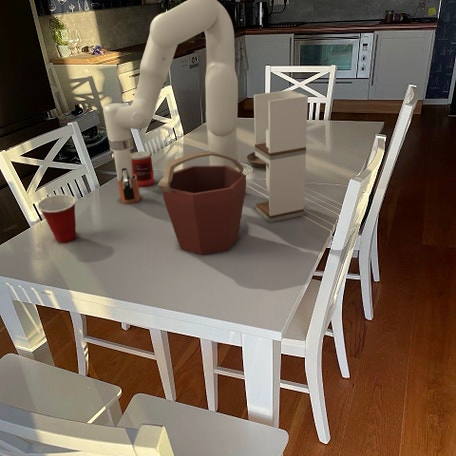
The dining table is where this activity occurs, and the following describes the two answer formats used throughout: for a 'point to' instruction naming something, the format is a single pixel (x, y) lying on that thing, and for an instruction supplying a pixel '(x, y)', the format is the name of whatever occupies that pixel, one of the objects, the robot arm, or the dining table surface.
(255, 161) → the plant saucer
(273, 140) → the tall white stacked tower
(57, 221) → the plastic cup
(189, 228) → the bucket
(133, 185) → the pot
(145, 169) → the canned food
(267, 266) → the dining table surface
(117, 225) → the dining table surface
